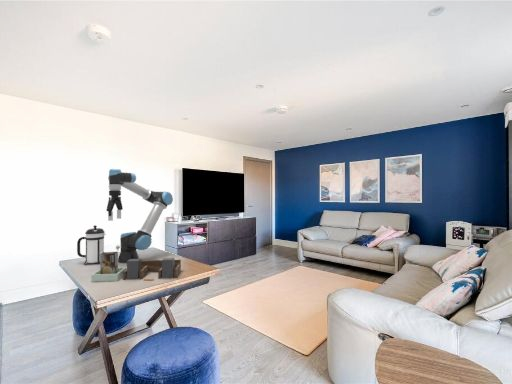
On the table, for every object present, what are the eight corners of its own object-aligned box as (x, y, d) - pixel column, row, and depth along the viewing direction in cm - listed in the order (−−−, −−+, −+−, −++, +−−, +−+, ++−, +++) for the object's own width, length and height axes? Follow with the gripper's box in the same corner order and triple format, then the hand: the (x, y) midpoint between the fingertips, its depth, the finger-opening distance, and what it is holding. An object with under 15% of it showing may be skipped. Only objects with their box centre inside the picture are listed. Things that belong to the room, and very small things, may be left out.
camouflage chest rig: (132, 272, 176) (132, 260, 176) (180, 270, 179) (180, 259, 179) (120, 281, 157) (120, 269, 157) (175, 279, 161) (175, 267, 161)
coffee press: (101, 259, 209) (101, 223, 209) (108, 262, 199) (108, 225, 199) (76, 263, 196) (76, 225, 196) (83, 267, 185) (83, 227, 185)
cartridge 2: (163, 275, 168) (163, 258, 168) (174, 275, 169) (174, 257, 169) (161, 278, 163) (161, 260, 163) (172, 278, 164) (172, 259, 164)
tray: (102, 274, 170) (102, 268, 170) (126, 274, 171) (126, 267, 171) (91, 282, 156) (91, 274, 156) (117, 281, 158) (117, 274, 158)
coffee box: (118, 274, 168) (118, 251, 168) (115, 278, 162) (115, 253, 162) (103, 276, 166) (103, 252, 166) (99, 279, 159) (99, 254, 159)
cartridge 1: (129, 277, 166) (129, 259, 166) (140, 276, 166) (140, 258, 166) (126, 279, 161) (126, 261, 161) (138, 279, 162) (138, 260, 162)
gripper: (117, 190, 192) (117, 217, 192) (100, 190, 167) (100, 221, 167) (127, 190, 193) (127, 217, 193) (112, 190, 168) (112, 221, 168)
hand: (114, 219), depth 180 cm, fingers open, 13 cm apart
